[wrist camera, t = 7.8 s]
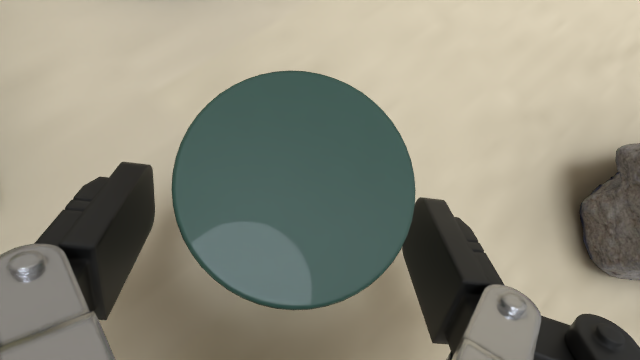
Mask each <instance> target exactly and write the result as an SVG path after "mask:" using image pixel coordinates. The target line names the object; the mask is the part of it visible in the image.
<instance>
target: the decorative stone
mask: <svg viewBox="0 0 640 360" xmlns="http://www.w3.org/2000/svg"><path fill="white" fill-rule="evenodd" d="M616 165H617V170H618V172H617V173H616V176H614V177H611V179H609V180H608V181H607V182H606V183H605V184H603V185H599V186H598V187H597V188H596V189H595V190H594V191H593V192H592V193H591V195H590V196H588V197H587V198H586V199H584V200H583V203H581V207H580V217H581V222H582V226H583V232H584V235H583V239H584V243H585V246H586V249H587V251H588V254H589V256H590V259H591V260H592V261H594V263H595V264H596V265H597V266H598V267H599V268H600V269H601V270H603V271H604V272H606V273H607V274H609V275H612V276H615V277H618V278H622V279H630V280H632V279H633V280H640V143H637V144H628V145H624V146H621V147H620V148H618V149H617V151H616Z"/></svg>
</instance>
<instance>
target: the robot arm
mask: <svg viewBox="0 0 640 360" xmlns="http://www.w3.org/2000/svg"><path fill="white" fill-rule="evenodd" d="M154 216H155V202H154V184H153V170H152V167H151V165H146V164H138V163H129V162H122V163H120V164H119V166H118V167H117V168H116V170H115V171H114V172H113V174H112V175H111V176H110V177H109V178H108V177H98V178H97V179H95V180H93V181H91V182H89V183H88V184H86V185H84V186H83V187H82V188H81V189H80V191H79V192H78V193H77V194H76V195H75V196H74V199H73V200H71V201H70V202H69V203H68V205H67V206H66V207H65V210H63V211H62V212H61V213H60V214H59V215H58V216H57V218H56V219H55V220H54V221H53V222H52V223H51V225H50V226H49V227H48V228H47V229H46V231H45V232H44V233H43V234H42V235H41V236H40V238H39V239H38V240H37V241H36V242H35V243H34V244H30V245H25V246H20V247H17V248H14V249H12V250H9V251H7V252H5V253H3V254H2V255H0V360H115V357H114V355H113V353H112V350H111V348H110V346H109V343H108V341H107V339H106V336H105V334H104V332H103V330H102V327H101V325H100V323H99V320H107V318H108V316H109V314H110V312H111V310H112V308H113V306H114V304H115V302H116V300H117V298H118V296H119V294H120V292H121V290H122V287H123V285H124V283H125V281H126V279H127V277H128V275H129V273H130V271H131V269H132V267H133V265H134V263H135V261H136V259H137V257H138V255H139V253H140V251H141V249H142V247H143V245H144V243H145V241H146V239H147V237H148V235H149V233H150V231H151V228H152V225H153V222H154ZM402 250H403V256H404V259H405V262H406V265H407V268H408V271H409V274H410V277H411V280H412V283H413V286H414V289H415V292H416V295H417V298H418V301H419V304H420V307H421V310H422V313H423V316H424V319H425V322H426V325H427V328H428V331H429V334H430V337H431V340H432V343H437V344H449V347H450V350H451V352H450V354H449V355H448V357H447V359H446V360H640V348H639V346H638V345H637V344H636V342H635V341H634V340H633V339H632V338H631V337H630V336H629V335H628V334H627V333H626V332H625V331H624V330H623V329H621V328H620V327H619V326H617V325H616V324H614V323H612V322H611V321H609V320H607V319H605V318H602V317H600V316H597V315H592V314H582V315H579V316H578V317H577V318H576V320H575V321H574V322H573V324H572V325H571V326H570V325H567V324H564V323H561V322H558V321H555V320H552V319H549V318H546V317H543V316H541V314H540V312H539V310H538V308H537V307H536V305H535V304H534V303H533V302H532V301H531V300H530V299H529V298H528V297H527V296H525V295H524V294H523V293H521V292H519V291H518V290H516V289H514V288H511V287H508V286H505V285H504V283H503V282H502V280H501V278H500V277H499V275H498V273H497V272H496V270H495V268H494V267H493V265H492V263H491V262H490V260H489V258H488V257H487V255H486V253H484V250H483V248H482V246H481V245H480V243H478V240H477V238H476V236H475V235H474V233H473V231H472V230H471V228H470V227H469V226H467V225H466V224H465V223H464V222H463V221H462V220H461V219H460V218H458V217H454V216H453V214H452V213H451V211H450V209H449V207H448V205H447V204H446V202H445V201H444V200H438V199H430V198H419V199H418V200H417V201H416V203H415V207H414V212H413V218H412V222H411V225H410V229H409V232H408V235H407V237H406V239H405V241H404V244H403V246H402ZM98 319H99V320H98Z"/></svg>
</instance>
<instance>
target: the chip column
mask: <svg viewBox="0 0 640 360" xmlns="http://www.w3.org/2000/svg"><path fill="white" fill-rule="evenodd" d="M172 199H173V208H174V212H175V217H176V221H177V224H178V227H179V230H180V232H181V235H182V237H183V240H184V241H185V243H186V245H187V247H188V249H189V250H190V252H191V254H192V255H193V256H194V258H195V259H196V260H197V262H198V263H199V264H200V266H201V267H202V268H203V269H204V270H205V271H206V272H207V273H208V274H209V275H210V276H211V277H212V278H213V279H214V280H215V281H217V282H218V283H219V284H221V285H222V286H223V287H225V288H226V289H227V290H229V291H231V292H232V293H234V294H236V295H238V296H240V297H241V298H243V299H246V300H249V301H251V302H254V303H256V304H259V305H263V306H267V307H271V308H276V309H286V310H308V309H315V308H320V307H326V306H329V305H332V304H335V303H338V302H341V301H344V300H346V299H348V298H350V297H352V296H354V295H356V294H358V293H359V292H361V291H362V290H364V289H365V288H366V287H368V286H369V285H371V284H372V283H373V282H374V281H375V280H376V279H378V278H379V277H380V276H381V275H382V274H383V273H384V272H385V270H386V269H387V268H388V267H389V266H390V265H391V263H392V262H393V261H394V259H395V258H396V256H397V254H398V253H399V251H400V250H401V248H402V246H403V244H404V241H405V239H406V237H407V235H408V232H409V229H410V225H411V222H412V218H413V212H414V207H415V181H414V173H413V168H412V163H411V159H410V156H409V154H408V151H407V148H406V145H405V143H404V141H403V139H402V137H401V135H400V133H399V132H398V130H397V129H396V127H395V126H394V124H393V122H392V121H391V120H390V119H389V117H388V116H387V115H386V114H385V113H384V111H383V110H382V109H381V108H380V107H379V106H378V105H376V104H375V103H374V102H373V101H372V100H371V99H370V98H368V97H367V96H366V95H364V94H363V93H362V92H360V91H359V90H357V89H355V88H353V87H352V86H350V85H348V84H346V83H344V82H342V81H339V80H337V79H335V78H331V77H328V76H325V75H321V74H317V73H311V72H305V71H279V72H272V73H267V74H261V75H258V76H255V77H252V78H249V79H246V80H244V81H242V82H240V83H238V84H235V85H233V86H232V87H230V88H228V89H227V90H225V91H224V92H222V93H221V94H219V95H218V96H217V97H216V98H214V99H213V100H212V101H211V102H210V103H208V104H207V105H206V107H205V108H204V109H203V110H202V111H201V112H200V113H199V114H198V115H197V117H196V118H195V119H194V121H193V122H192V124H191V125H190V127H189V128H188V130H187V132H186V134H185V136H184V138H183V140H182V142H181V144H180V147H179V150H178V153H177V156H176V159H175V164H174V169H173V176H172Z"/></svg>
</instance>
